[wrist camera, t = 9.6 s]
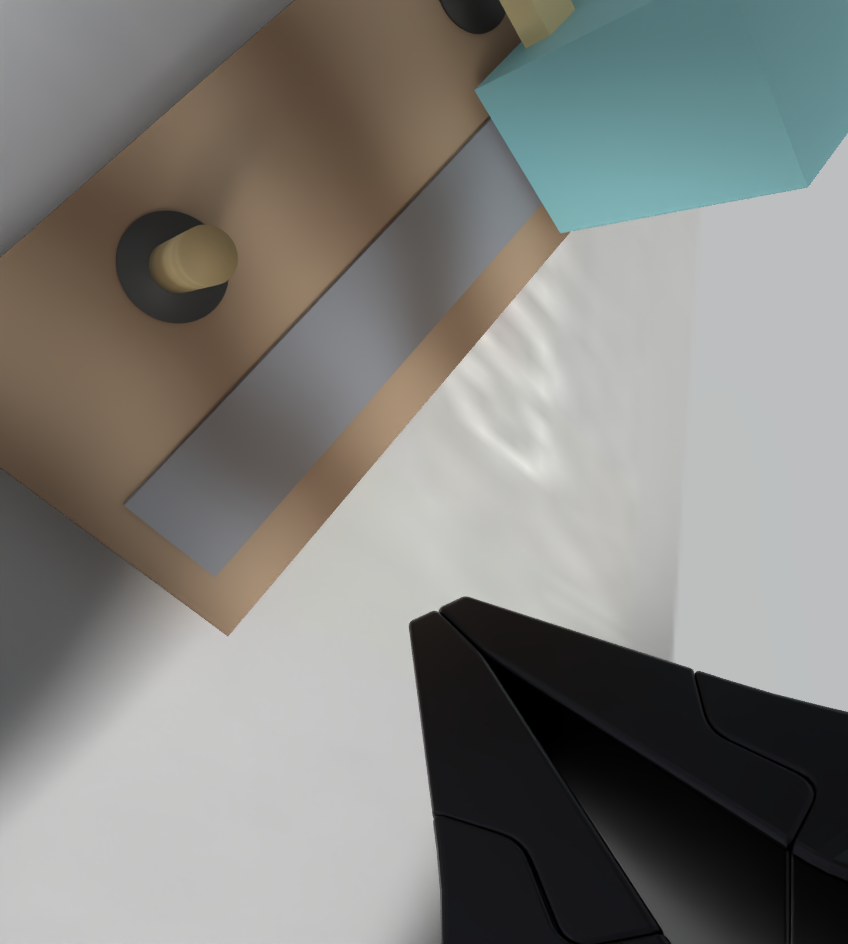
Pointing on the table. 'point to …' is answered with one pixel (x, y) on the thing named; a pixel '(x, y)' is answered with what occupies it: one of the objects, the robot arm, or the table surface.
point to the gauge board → (266, 291)
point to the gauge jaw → (669, 101)
